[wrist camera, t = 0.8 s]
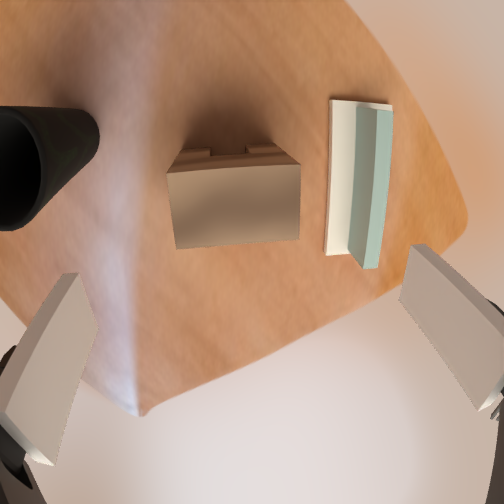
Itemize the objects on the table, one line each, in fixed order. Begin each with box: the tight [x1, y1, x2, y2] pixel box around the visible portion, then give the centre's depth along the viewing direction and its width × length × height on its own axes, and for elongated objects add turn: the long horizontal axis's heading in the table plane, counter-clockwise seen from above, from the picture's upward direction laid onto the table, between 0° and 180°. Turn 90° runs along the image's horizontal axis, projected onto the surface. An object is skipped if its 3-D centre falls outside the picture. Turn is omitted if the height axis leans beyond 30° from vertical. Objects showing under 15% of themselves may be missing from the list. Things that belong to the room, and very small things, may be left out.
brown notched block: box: [166, 144, 301, 249], centre depth 23 cm, size 5×8×9 cm, turn 92°
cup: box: [0, 106, 100, 231], centre depth 19 cm, size 8×8×12 cm
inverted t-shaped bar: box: [324, 100, 393, 269], centre depth 27 cm, size 15×6×5 cm, turn 2°
